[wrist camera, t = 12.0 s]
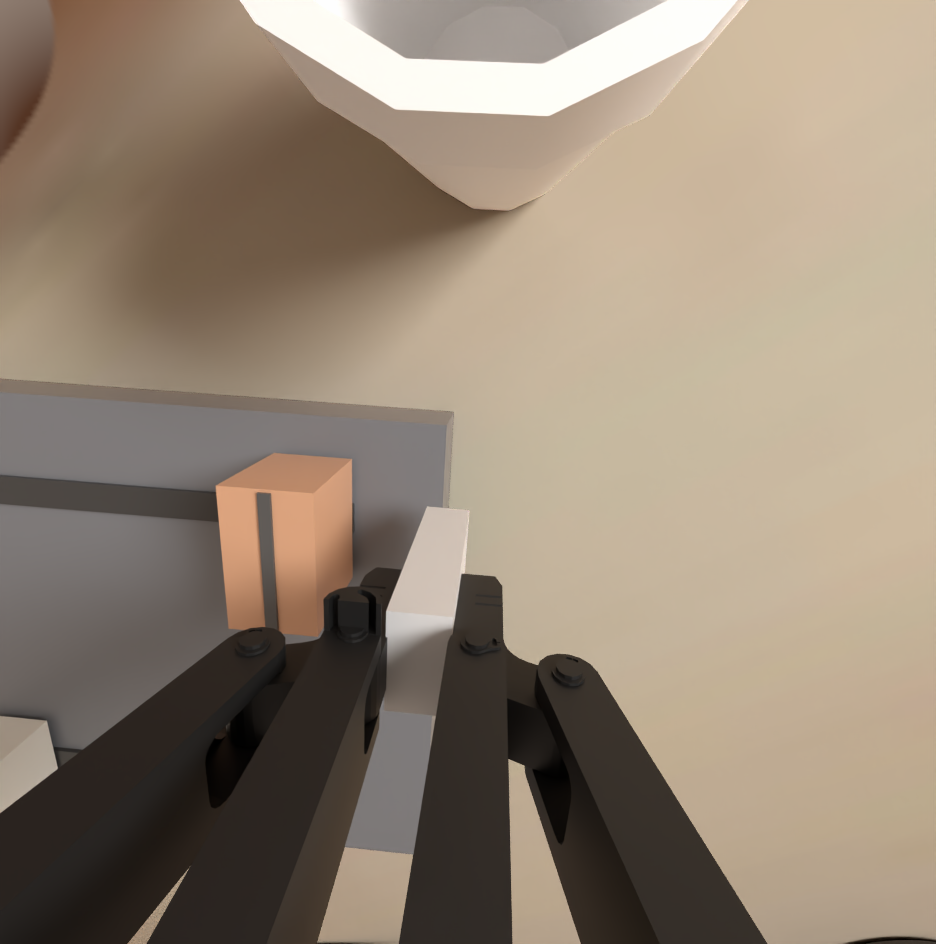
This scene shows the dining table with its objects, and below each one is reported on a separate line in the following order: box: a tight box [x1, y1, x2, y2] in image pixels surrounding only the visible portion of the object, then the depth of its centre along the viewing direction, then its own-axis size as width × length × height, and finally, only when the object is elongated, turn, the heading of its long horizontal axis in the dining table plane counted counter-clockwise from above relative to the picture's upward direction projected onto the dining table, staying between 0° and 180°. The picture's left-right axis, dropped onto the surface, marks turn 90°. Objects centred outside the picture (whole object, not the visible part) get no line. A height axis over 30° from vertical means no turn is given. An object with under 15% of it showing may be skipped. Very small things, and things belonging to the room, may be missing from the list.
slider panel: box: [0, 379, 454, 854], centre depth 23 cm, size 22×26×3 cm
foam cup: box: [240, 0, 749, 211], centre depth 12 cm, size 10×9×13 cm
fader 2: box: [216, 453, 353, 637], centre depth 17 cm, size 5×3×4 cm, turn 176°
